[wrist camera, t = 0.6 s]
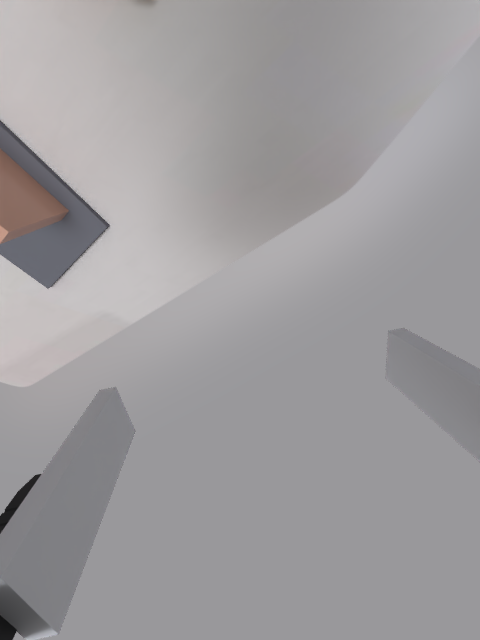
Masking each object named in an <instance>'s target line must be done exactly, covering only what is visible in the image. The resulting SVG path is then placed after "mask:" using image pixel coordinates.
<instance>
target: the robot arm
mask: <svg viewBox="0 0 480 640" xmlns="http://www.w3.org/2000/svg"><path fill="white" fill-rule="evenodd" d="M385 378H386V379H387V380H388V381H389V382H390V383H391V384H392V385H394V386H395V387H396V388H397V389H398V390H399V391H400V392H402V393H403V394H404V395H405V396H406V397H407V398H408V399H409V400H411V401H412V402H413V403H414V404H415V405H416V406H417V407H418V408H419V409H421V410H422V411H423V412H424V413H425V414H426V415H427V416H428V417H430V418H431V419H432V420H433V421H434V422H435V423H436V424H437V425H439V426H440V427H441V428H442V429H443V430H444V431H445V432H447V433H448V434H449V435H450V436H451V437H452V438H453V439H454V440H455V441H457V442H458V443H459V444H460V445H461V446H462V447H463V448H465V450H467V451H468V452H469V453H470V454H471V455H472V456H473V457H474V458H476V459H477V460H478V461H479V462H480V369H479V368H477V367H475V366H474V365H472V364H470V363H468V362H466V361H464V360H462V359H460V358H459V357H457V356H455V355H453V354H451V353H449V352H448V351H446V350H444V349H442V348H440V347H438V346H436V345H434V344H433V343H431V342H429V341H427V340H425V339H423V338H422V337H420V336H418V335H416V334H414V333H412V332H410V331H408V330H407V329H405V328H400V329H395V330H390V331H388V342H387V359H386V376H385ZM134 434H135V429H134V427H133V424H132V422H131V420H130V418H129V415H128V413H127V411H126V408H125V407H124V404H123V402H122V400H121V397H120V395H119V393H118V390H117V388H116V387H113V388H108V389H103V390H99V392H98V393H97V394H96V396H95V398H94V399H93V400H92V402H91V403H90V405H89V406H88V408H87V409H86V411H85V412H84V413H83V415H82V416H81V418H80V419H79V421H78V422H77V424H76V425H75V426H74V428H73V429H72V431H71V432H70V434H69V435H68V437H67V438H66V439H65V441H64V442H63V444H62V445H61V447H60V448H59V450H58V451H57V453H56V454H55V455H54V457H53V458H52V460H51V461H50V463H49V464H48V465H47V467H46V468H45V470H44V471H43V473H42V474H39V475H35V476H34V477H33V478H32V479H31V480H30V481H29V482H28V483H26V484H25V485H24V486H23V487H22V488H21V489H20V490H19V491H18V492H17V494H16V495H15V496H14V498H13V499H12V501H11V502H10V503H9V505H8V506H7V507H6V509H5V512H4V513H2V514H1V516H0V640H12V639H13V637H14V635H15V633H16V631H17V632H18V633H19V634H20V635H22V636H23V637H24V638H25V639H26V640H36V639H41V638H45V637H50V636H54V635H58V634H59V632H60V630H61V627H62V624H63V622H64V619H65V616H66V613H67V611H68V608H69V606H70V603H71V600H72V598H73V595H74V592H75V590H76V587H77V585H78V582H79V579H80V577H81V574H82V571H83V569H84V566H85V563H86V561H87V558H88V555H89V553H90V550H91V547H92V545H93V542H94V539H95V537H96V534H97V532H98V529H99V526H100V524H101V521H102V518H103V516H104V513H105V510H106V508H107V505H108V503H109V500H110V497H111V495H112V492H113V489H114V487H115V484H116V481H117V479H118V476H119V473H120V471H121V468H122V466H123V463H124V460H125V458H126V455H127V452H128V449H129V447H130V444H131V441H132V439H133V436H134Z"/></svg>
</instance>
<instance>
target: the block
mask: <svg viewBox="0 0 480 640" xmlns="http://www.w3.org/2000/svg"><path fill="white" fill-rule="evenodd" d="M68 212H69V210H68V209H67V208H65V207H64V206H63V205H62V204H61V203H60V202H59V201H58V200H57V199H56V198H54V197H53V196H52V195H51V194H50V193H49V192H48V191H47V190H46V189H44V188H43V187H42V186H41V185H40V184H39V183H38V182H37V181H36V180H35V179H33V178H32V177H31V176H30V175H29V174H28V173H27V172H26V171H25V170H24V169H22V168H21V167H20V166H19V165H18V164H17V163H16V162H15V161H14V160H13V159H11V158H10V157H9V156H8V155H7V154H6V153H5V152H4V151H3V150H2V149H0V244H2V243H5V242H7V241H10V240H12V239H15V238H17V237H20V236H22V235H25V234H28V233H30V232H33V231H35V230H38V229H40V228H43V227H46V226H48V225H51V224H53V223H56V222H58V221H61V220H62V219H63V218H64V216H65V215H66V214H67V213H68Z"/></svg>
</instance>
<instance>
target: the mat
mask: <svg viewBox="0 0 480 640" xmlns="http://www.w3.org/2000/svg"><path fill="white" fill-rule="evenodd" d="M0 149H2V150H3V151H4V152H5V153H6V154H7V155H8V156H9V157H10V158H11V159H13V160H14V161H15V162H16V163H17V164H18V165H19V166H20V167H21V168H22V169H24V170H25V171H26V172H27V173H28V174H29V175H30V176H31V177H32V178H33V179H35V180H36V181H37V182H38V183H39V184H40V185H41V186H42V187H43V188H44V189H46V190H47V191H48V192H49V193H50V194H51V195H52V196H53V197H54V198H56V199H57V200H58V201H59V202H60V203H61V204H62V205H63V206H64V207H65V208H67V209H68V210H69V212H68V213H67V214H66V215H65V216H64V218H63V219H62V220H61V221H58V222H56V223H53V224H51V225H48V226H46V227H43V228H40V229H38V230H35V231H33V232H30V233H28V234H25V235H22V236H20V237H17V238H15V239H12V240H10V241H7V242H5V243H2V244H0V254H1V255H2V256H3V257H5V258H6V259H8V260H9V261H10V262H12V263H13V264H14V265H16V266H17V267H19V268H20V269H21V270H23V271H24V272H26V273H27V274H28V275H30V276H31V277H32V278H34V279H35V280H37V281H38V282H39V283H41V284H42V285H44V286H45V287H46V288H50V287H51V286H52V285H53V284H54V283H55V282H56V281H57V280H58V279H59V278H60V277H61V276H62V275H63V274H64V273H65V272H66V271H67V270H68V268H69V267H70V266H71V265H72V264H73V263H74V262H75V261H76V260H77V259H78V258H79V257H80V256H81V255H82V254H83V253H84V252H85V251H86V250H87V249H88V248H89V247H90V246H91V244H92V243H93V242H94V241H95V240H96V239H97V238H98V237H99V236H100V235H101V234H102V233H103V232H104V231H105V230H106V229H107V228H108V227H109V226H110V225H109V224H108V223H107V222H106V221H105V220H103V219H102V218H101V217H100V216H99V215H98V214H97V213H96V212H95V211H94V210H93V209H92V208H91V207H90V206H89V205H88V204H87V203H86V202H85V201H84V200H83V199H82V198H80V197H79V196H78V195H77V194H76V193H75V192H74V191H73V190H72V189H71V188H70V187H69V186H68V185H67V184H66V183H65V182H64V181H63V180H62V179H61V178H60V177H58V176H57V175H56V174H55V173H54V172H53V171H52V170H51V169H50V168H49V167H48V166H47V165H46V164H45V163H44V162H43V161H42V160H41V159H40V158H39V157H38V156H37V155H35V154H34V153H33V152H32V151H31V150H30V149H29V148H28V147H27V146H26V145H25V144H24V143H23V142H22V141H21V140H20V139H19V138H18V137H17V136H16V135H15V134H14V133H12V132H11V131H10V130H9V129H8V128H7V127H6V126H5V125H4V124H3V123H2V122H1V121H0Z"/></svg>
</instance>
